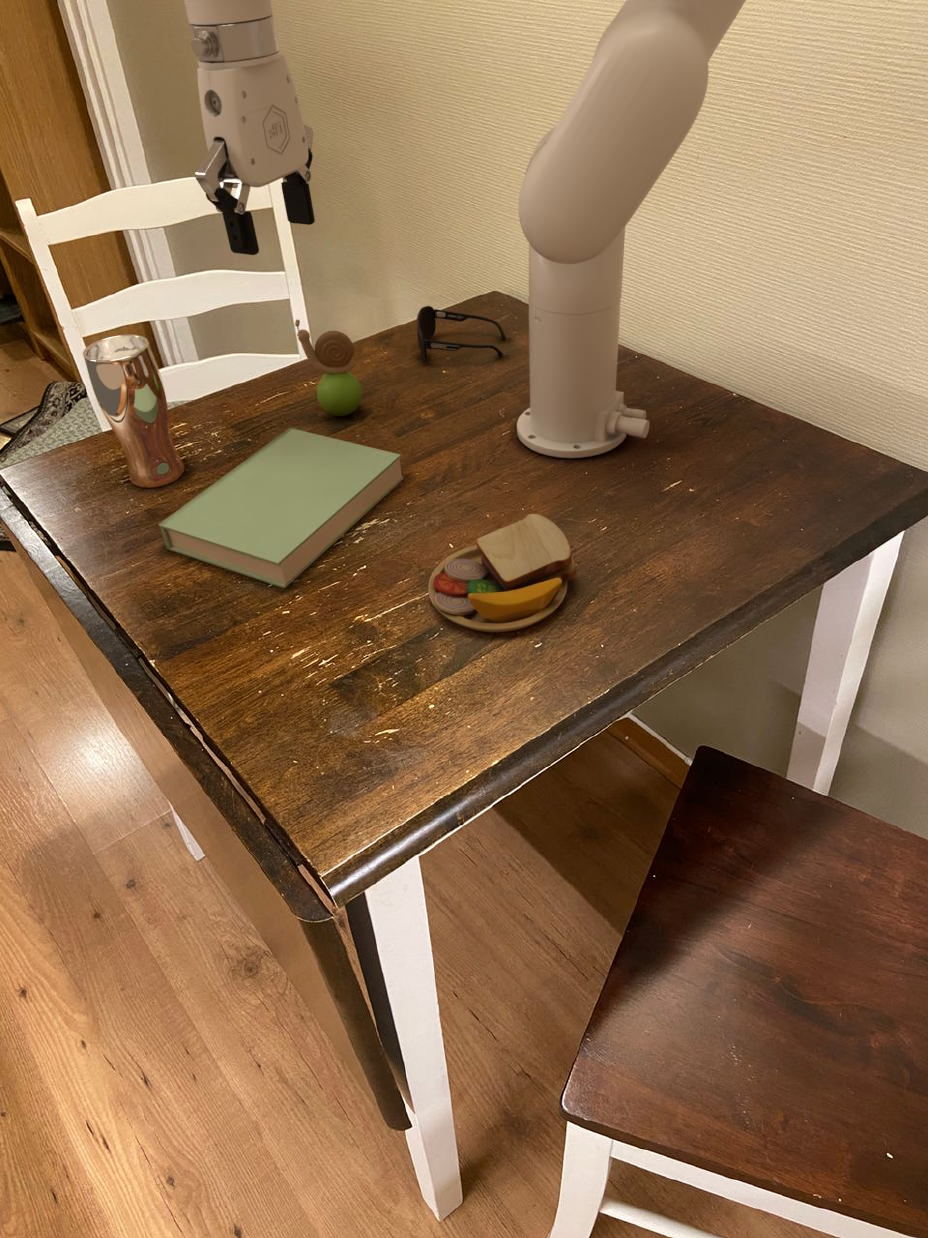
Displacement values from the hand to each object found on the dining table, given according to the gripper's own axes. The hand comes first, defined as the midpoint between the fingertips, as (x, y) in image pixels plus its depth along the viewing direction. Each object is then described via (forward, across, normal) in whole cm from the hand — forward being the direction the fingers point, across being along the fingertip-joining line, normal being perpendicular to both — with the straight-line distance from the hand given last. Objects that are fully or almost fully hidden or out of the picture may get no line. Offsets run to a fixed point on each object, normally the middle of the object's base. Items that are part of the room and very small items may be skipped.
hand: (274, 237), depth 92 cm
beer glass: (+22, -16, +10) cm, 29 cm away
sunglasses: (+22, +26, -7) cm, 35 cm away
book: (+22, -16, -8) cm, 29 cm away
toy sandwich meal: (+22, -19, -34) cm, 45 cm away
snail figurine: (+22, +4, -1) cm, 23 cm away
